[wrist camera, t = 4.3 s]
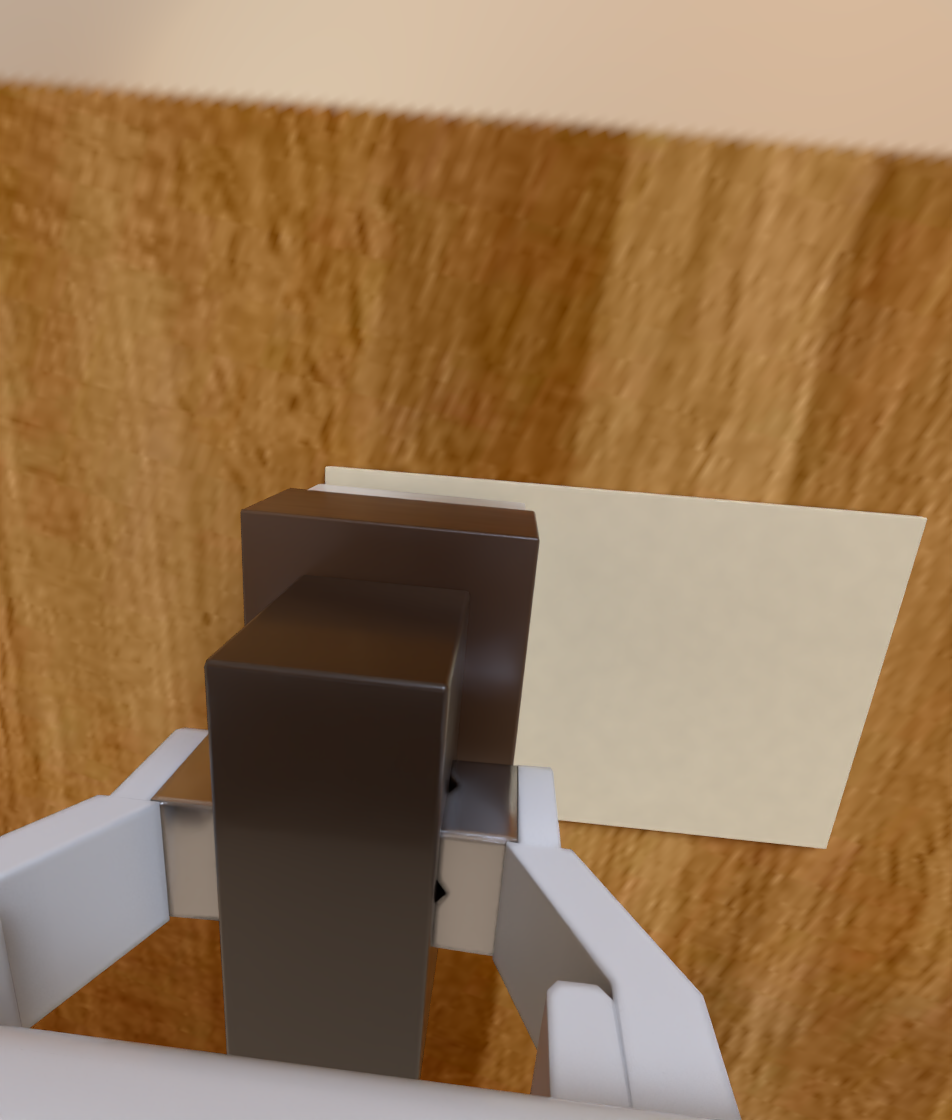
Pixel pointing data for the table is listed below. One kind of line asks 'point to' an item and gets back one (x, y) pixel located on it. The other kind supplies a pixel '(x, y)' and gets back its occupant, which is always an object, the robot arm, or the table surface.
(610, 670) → the board
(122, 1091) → the robot arm
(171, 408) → the table surface
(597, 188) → the table surface
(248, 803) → the brush
